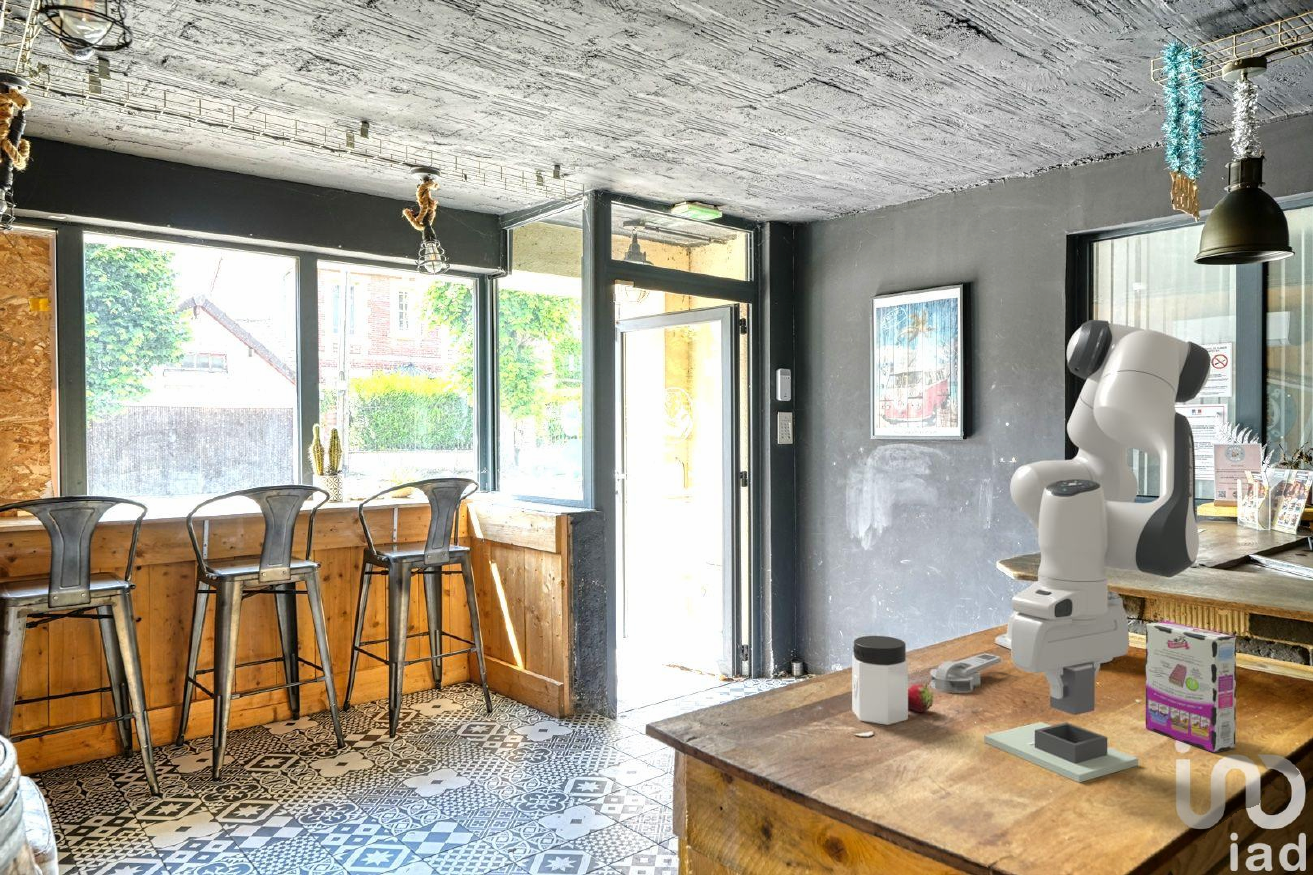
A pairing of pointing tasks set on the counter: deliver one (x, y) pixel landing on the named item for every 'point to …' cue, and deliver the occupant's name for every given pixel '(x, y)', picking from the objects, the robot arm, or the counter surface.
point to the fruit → (919, 698)
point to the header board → (1063, 750)
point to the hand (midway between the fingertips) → (1071, 694)
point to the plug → (1077, 690)
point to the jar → (880, 680)
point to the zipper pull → (961, 673)
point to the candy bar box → (1191, 685)
